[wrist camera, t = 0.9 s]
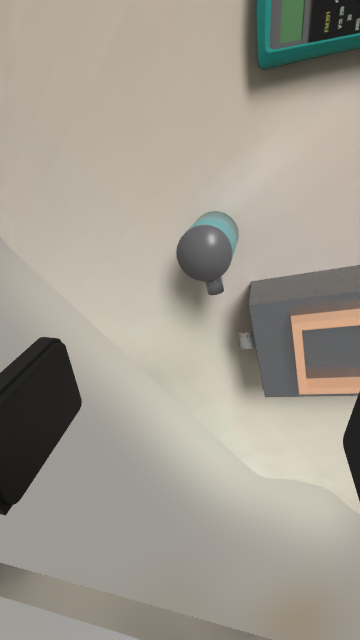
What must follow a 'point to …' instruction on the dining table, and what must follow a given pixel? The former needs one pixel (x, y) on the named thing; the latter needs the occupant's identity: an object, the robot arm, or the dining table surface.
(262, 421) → the dining table surface
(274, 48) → the digital multimeter
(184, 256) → the cylinder
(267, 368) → the grey box
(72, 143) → the dining table surface
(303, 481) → the dining table surface
